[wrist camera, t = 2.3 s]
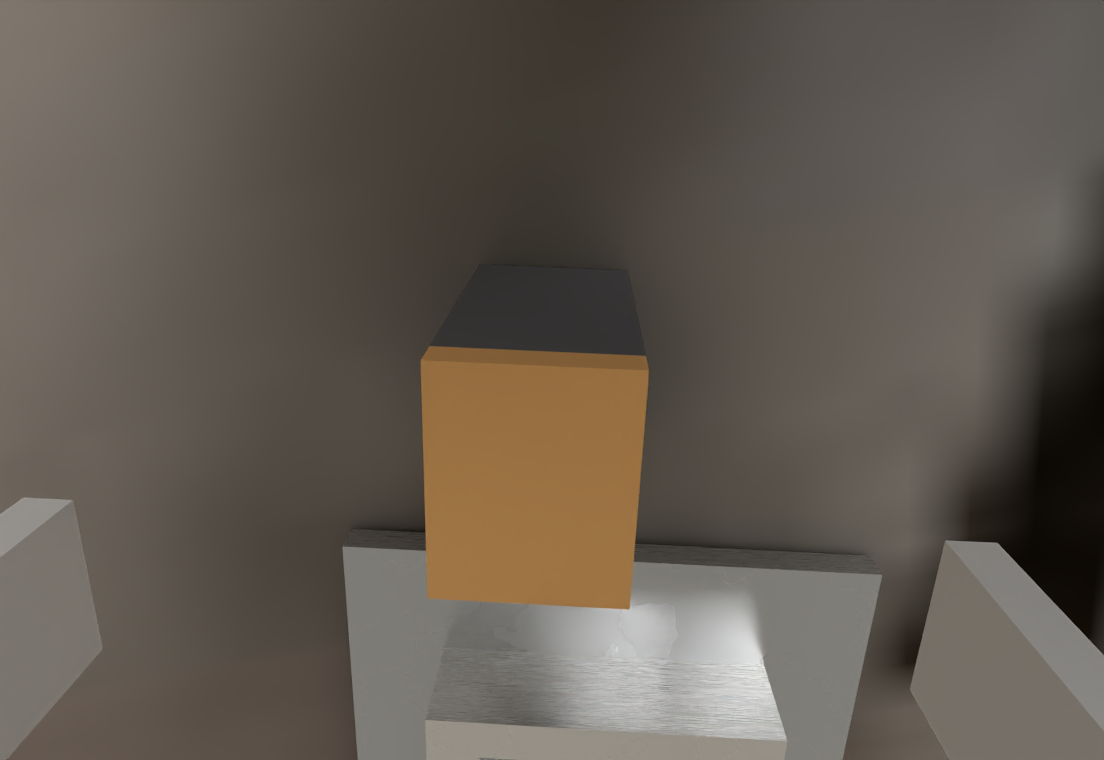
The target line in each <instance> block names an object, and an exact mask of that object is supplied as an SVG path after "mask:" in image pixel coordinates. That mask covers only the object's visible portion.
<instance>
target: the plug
mask: <svg viewBox="0 0 1104 760" xmlns="http://www.w3.org/2000/svg"><path fill="white" fill-rule="evenodd" d="M648 380H649V367H648V363H647V358H646V354H645V349H644V345H643V340H642V335H641V331H640V326H639V322H638V317H637V313H636V308H635V303H634V299H633V294H632V290H631V285H630V281H629V276H628V271H627V270H605V269H581V268H557V267H534V266H510V265H486V264H480V265H479V267H478V268H477V270H476V272H475V273H474V275H473V277H472V278H471V280H470V281H469V283H468V285H467V286H466V288H465V289H464V291H463V293H462V294H461V296H460V298H459V299H458V301H457V302H456V304H455V306H454V307H453V309H452V310H451V312H450V314H449V315H448V317H447V319H446V320H445V322H444V323H443V325H442V327H441V328H440V330H439V331H438V333H437V335H436V336H435V338H434V340H433V341H432V343H431V344H430V346H429V348H428V349H427V351H426V352H425V354H424V356H423V357H422V359H421V390H422V425H423V460H424V495H425V531H426V566H427V599H445V600H463V601H481V602H499V603H518V604H536V605H554V606H573V607H591V608H609V609H628V610H630V599H631V586H632V574H633V562H634V550H635V538H636V526H637V513H638V501H639V489H640V477H641V465H642V453H643V440H644V428H645V416H646V404H647V392H648Z"/></svg>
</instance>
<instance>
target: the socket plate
mask: <svg viewBox="0 0 1104 760" xmlns="http://www.w3.org/2000/svg"><path fill="white" fill-rule="evenodd" d="M342 548H343V562H344V575H345V589H346V603H347V617H348V631H349V645H350V659H351V672H352V686H353V700H354V714H355V728H356V742H357V756H358V760H842V759H843V755H844V750H845V746H846V741H847V736H848V732H849V727H850V722H851V718H852V713H853V709H854V704H855V699H856V695H857V690H858V685H859V681H860V676H861V671H862V667H863V662H864V658H865V653H866V648H867V644H868V639H869V634H870V630H871V625H872V621H873V616H874V611H875V607H876V602H877V597H878V593H879V588H880V584H881V579H882V574H881V572H880V570H879V569H878V567H877V565H876V564H875V562H874V560H873V559H872V557H871V556H865V555H846V554H827V553H808V552H788V551H769V550H750V549H730V548H711V547H692V546H673V545H653V544H635V550H634V562H633V574H632V586H631V599H630V610H628V609H609V608H591V607H573V606H554V605H536V604H518V603H499V602H481V601H463V600H445V599H427V566H426V533H422V532H403V531H384V530H364V529H352V530H351V532H350V533H349V535H348V537H347V539H346V541H345V543H344V545H343V546H342Z"/></svg>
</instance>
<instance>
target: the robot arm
mask: <svg viewBox="0 0 1104 760" xmlns="http://www.w3.org/2000/svg"><path fill="white" fill-rule="evenodd" d="M102 649H103V647H102V642H101V637H100V632H99V627H98V622H97V617H96V612H95V607H94V602H93V597H92V592H91V587H90V582H89V577H88V572H87V567H86V562H85V557H84V552H83V547H82V542H81V537H80V532H79V527H78V522H77V517H76V512H75V507H74V502H73V500H63V499H42V498H22V499H21V500H19V501H18V502H17V503H15V504H14V505H12V506H11V507H10V508H8V509H7V510H5V511H4V512H3V513H1V514H0V760H7V759H8V758H9V757H10V755H11V754H12V753H13V752H14V751H15V750H16V748H17V747H18V746H19V745H20V744H21V743H22V742H23V740H24V739H25V738H26V737H27V736H28V735H29V733H30V732H31V731H32V730H33V729H34V728H35V727H36V725H37V724H38V723H39V722H40V721H41V720H42V719H43V717H44V716H45V715H46V714H47V713H48V712H49V710H50V709H51V708H52V707H53V706H54V705H55V704H56V702H57V701H58V700H59V699H60V698H61V697H62V696H63V694H64V693H65V692H66V691H67V690H68V689H69V687H70V686H71V685H72V684H73V683H74V682H75V681H76V679H77V678H78V677H79V676H80V675H81V674H82V672H83V671H84V670H85V669H86V668H87V667H88V666H89V664H90V663H91V662H92V661H93V660H94V659H95V658H96V656H97V655H98V654H99V653H100V652H101V651H102ZM910 691H911V693H912V695H913V696H914V698H915V700H916V702H917V703H918V705H919V707H920V709H921V711H922V712H923V714H924V716H925V718H926V720H927V721H928V723H929V725H930V727H931V728H932V730H933V732H934V734H935V736H936V737H937V739H938V741H939V743H940V744H941V746H942V748H943V750H944V752H945V753H946V755H947V757H948V759H949V760H1104V655H1103V654H1102V653H1101V652H1100V651H1099V650H1098V649H1097V648H1096V647H1095V646H1094V645H1093V644H1092V643H1091V641H1090V640H1089V639H1088V638H1087V637H1086V636H1085V635H1084V634H1083V633H1082V632H1081V631H1080V630H1079V629H1078V628H1077V627H1076V626H1075V625H1074V623H1073V622H1072V621H1071V620H1070V619H1069V618H1068V617H1067V616H1066V615H1065V614H1064V613H1063V612H1062V611H1061V610H1060V609H1059V608H1058V607H1057V606H1056V604H1055V603H1054V602H1053V601H1052V600H1051V599H1050V598H1049V597H1048V596H1047V595H1046V594H1045V593H1044V592H1043V591H1042V590H1041V589H1040V588H1039V586H1038V585H1037V584H1036V583H1035V582H1034V581H1033V580H1032V579H1031V578H1030V577H1029V576H1028V575H1027V574H1026V573H1025V572H1024V571H1023V570H1022V568H1021V567H1020V566H1019V565H1018V564H1017V563H1016V562H1015V561H1014V560H1013V559H1012V558H1011V557H1010V556H1009V555H1008V554H1007V553H1006V552H1005V550H1004V549H1003V548H1002V547H1001V546H1000V545H999V544H998V543H988V542H966V541H945V544H944V548H943V552H942V556H941V560H940V565H939V569H938V573H937V577H936V582H935V586H934V590H933V594H932V598H931V603H930V607H929V611H928V615H927V619H926V624H925V628H924V632H923V636H922V640H921V645H920V649H919V653H918V657H917V661H916V666H915V670H914V674H913V678H912V682H911V687H910Z"/></svg>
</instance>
